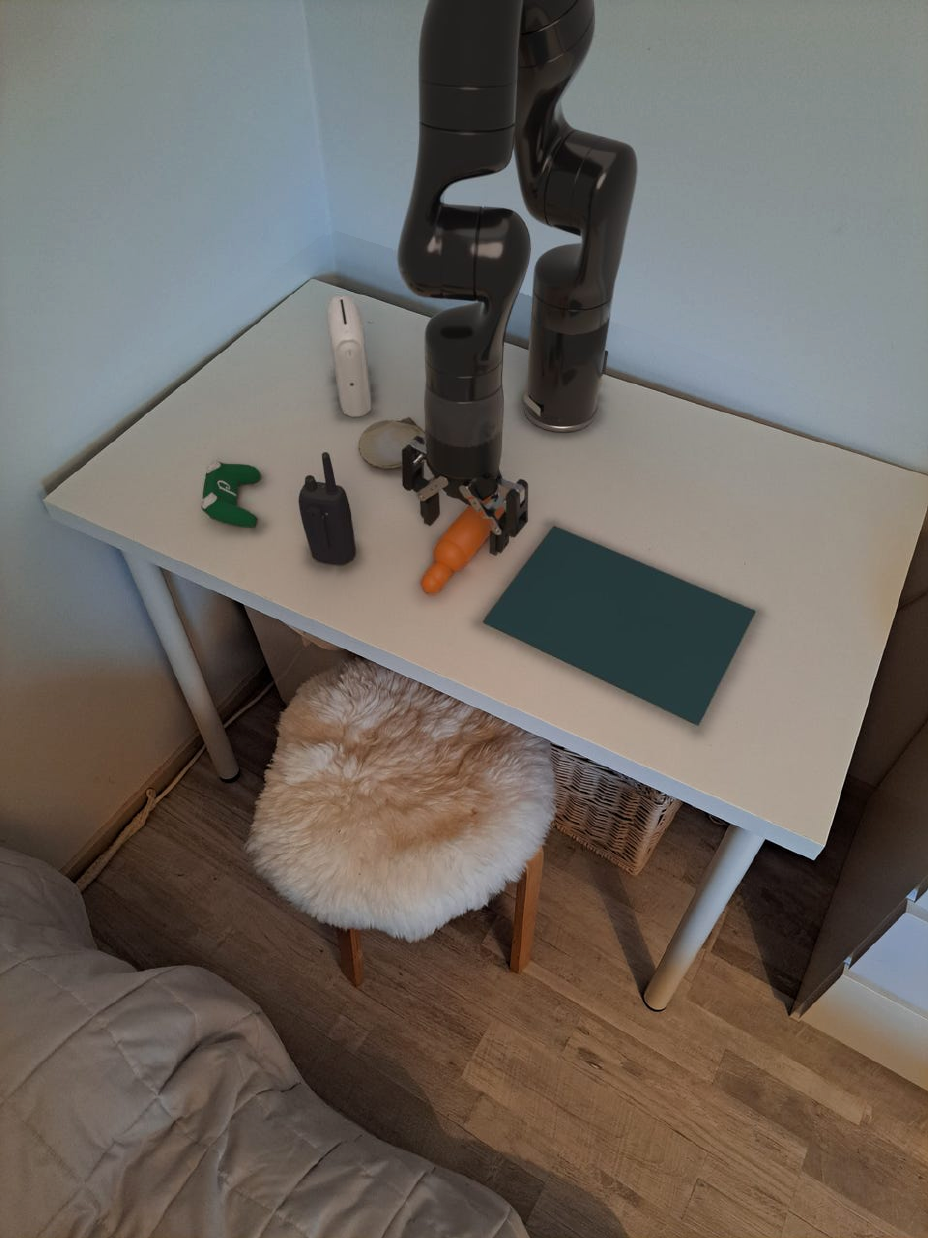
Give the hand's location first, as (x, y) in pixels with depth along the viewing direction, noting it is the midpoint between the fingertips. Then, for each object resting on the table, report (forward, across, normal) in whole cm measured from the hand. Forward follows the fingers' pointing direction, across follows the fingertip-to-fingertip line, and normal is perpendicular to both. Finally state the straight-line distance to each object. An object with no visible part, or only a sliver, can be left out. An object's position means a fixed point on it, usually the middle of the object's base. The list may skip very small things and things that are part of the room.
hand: (463, 534), depth 93 cm
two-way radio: (+2, +12, +9) cm, 15 cm away
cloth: (+2, -19, 0) cm, 19 cm away
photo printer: (+2, +27, -16) cm, 31 cm away
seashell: (+2, +16, -9) cm, 18 cm away
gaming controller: (+2, +27, +8) cm, 28 cm away
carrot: (+2, 0, -1) cm, 2 cm away
